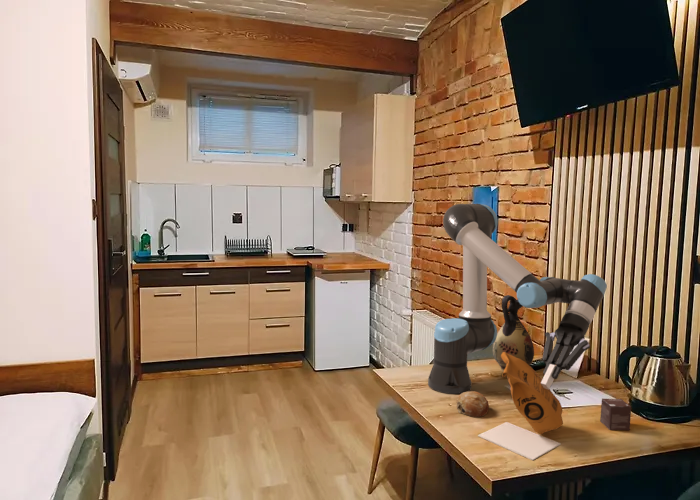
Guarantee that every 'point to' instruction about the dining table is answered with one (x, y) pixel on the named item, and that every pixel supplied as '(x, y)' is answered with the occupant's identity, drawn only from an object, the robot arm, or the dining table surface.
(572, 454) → the dining table surface
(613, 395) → the dining table surface
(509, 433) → the mat
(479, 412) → the bread roll
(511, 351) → the ceramic jug
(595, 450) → the dining table surface
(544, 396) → the coffee package
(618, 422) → the box
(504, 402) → the dining table surface
